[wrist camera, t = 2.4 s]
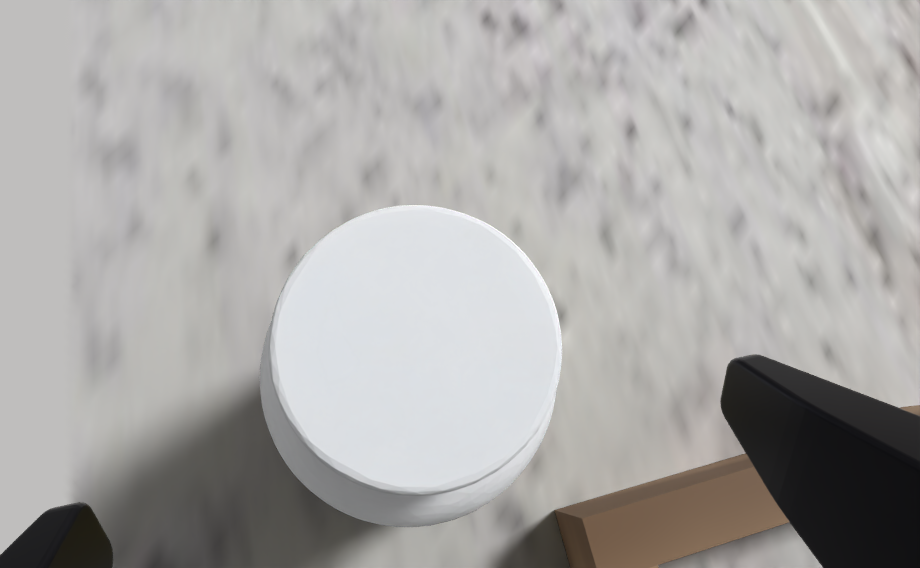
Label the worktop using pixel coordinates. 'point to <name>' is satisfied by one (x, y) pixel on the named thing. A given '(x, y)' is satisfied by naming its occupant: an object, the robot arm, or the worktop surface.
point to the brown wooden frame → (671, 516)
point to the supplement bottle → (411, 366)
